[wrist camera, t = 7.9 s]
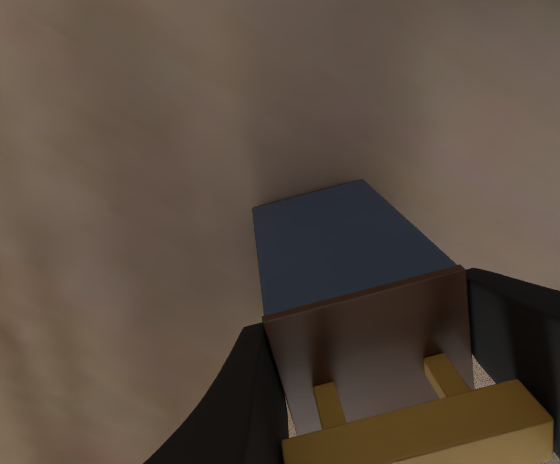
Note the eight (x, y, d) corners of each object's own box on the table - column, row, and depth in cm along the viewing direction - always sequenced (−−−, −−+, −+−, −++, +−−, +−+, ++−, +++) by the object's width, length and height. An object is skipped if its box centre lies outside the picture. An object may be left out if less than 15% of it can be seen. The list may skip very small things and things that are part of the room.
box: (553, 532, 10) (557, 338, 8) (321, 592, 10) (260, 415, 8) (386, 285, 20) (368, 177, 18) (276, 314, 20) (245, 209, 18)
